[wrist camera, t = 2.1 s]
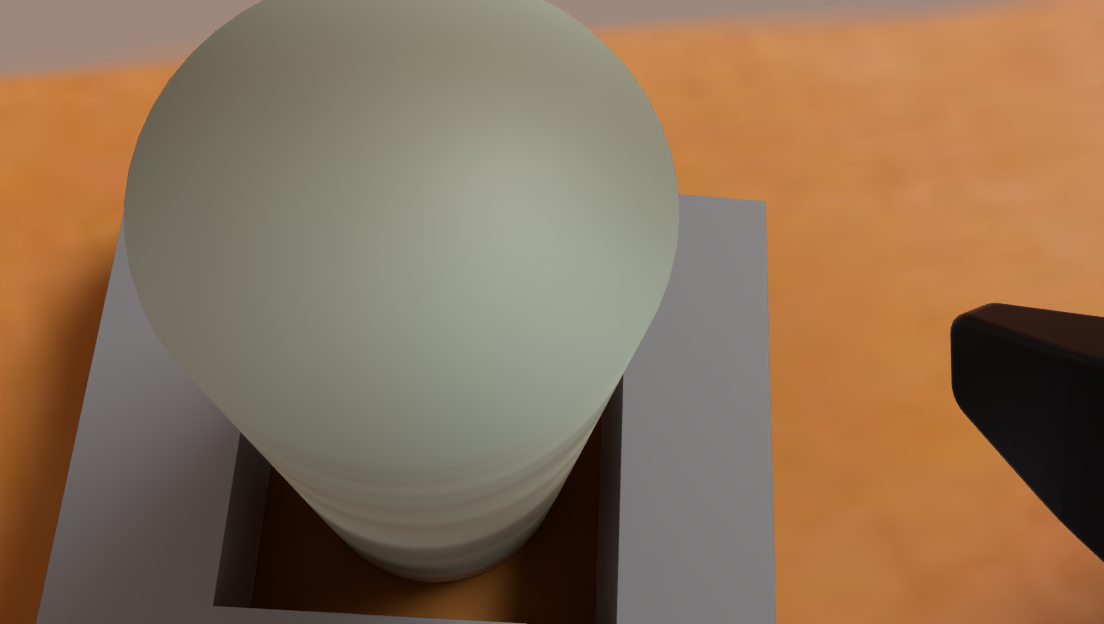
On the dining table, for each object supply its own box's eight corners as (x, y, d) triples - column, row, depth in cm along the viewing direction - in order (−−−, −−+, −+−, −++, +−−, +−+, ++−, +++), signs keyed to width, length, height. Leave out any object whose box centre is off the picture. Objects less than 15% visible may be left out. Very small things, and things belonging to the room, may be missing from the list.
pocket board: (736, 1133, 17) (790, 1225, 14) (6, 1115, 16) (-90, 1208, 13) (727, 260, 22) (765, 201, 20) (179, 217, 22) (137, 148, 19)
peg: (555, 589, 20) (677, 482, 8) (298, 574, 19) (69, 443, 8) (567, 347, 21) (680, -10, 10) (330, 330, 21) (177, -58, 10)
